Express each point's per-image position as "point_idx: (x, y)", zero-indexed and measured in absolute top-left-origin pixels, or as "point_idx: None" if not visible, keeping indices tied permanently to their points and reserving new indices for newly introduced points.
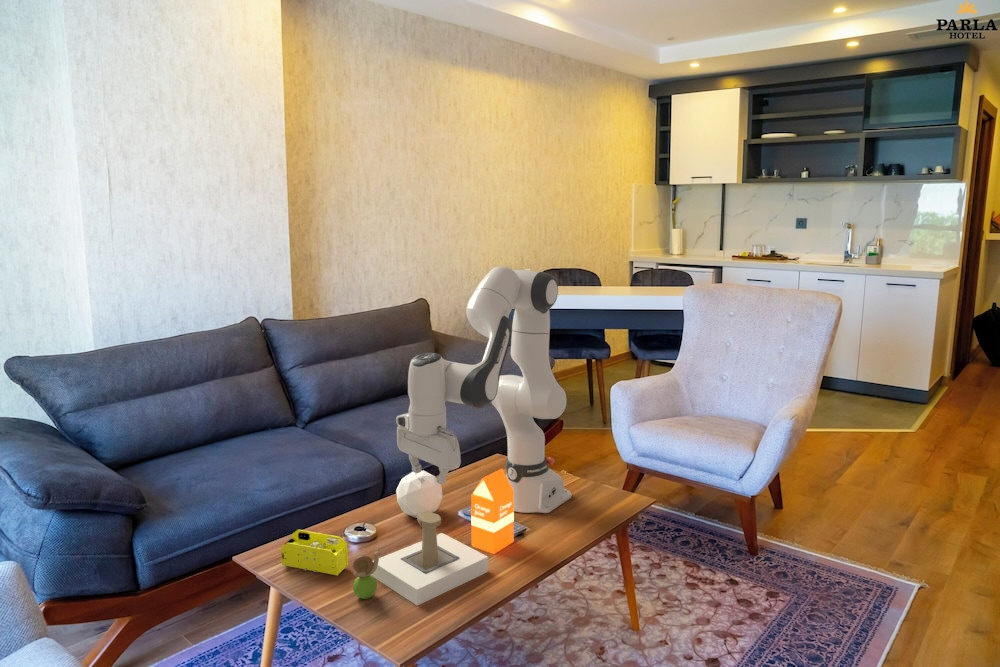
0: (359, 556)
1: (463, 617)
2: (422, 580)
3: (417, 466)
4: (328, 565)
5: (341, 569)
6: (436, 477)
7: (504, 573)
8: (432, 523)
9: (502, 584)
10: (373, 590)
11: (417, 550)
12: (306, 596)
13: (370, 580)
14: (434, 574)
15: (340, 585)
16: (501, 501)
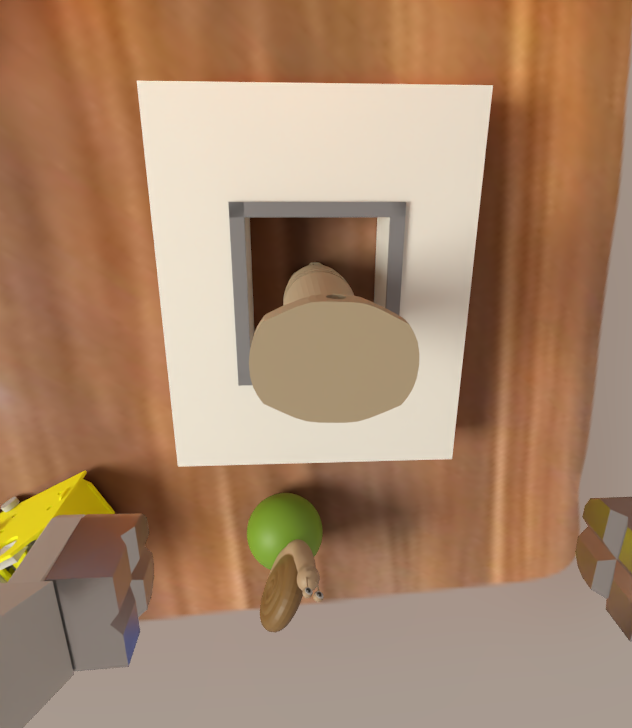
0: (274, 628)
1: (587, 370)
2: (422, 414)
3: (126, 639)
4: None
5: (99, 500)
6: (619, 623)
7: (527, 51)
8: (407, 392)
9: (572, 127)
10: (321, 523)
11: (218, 291)
12: (169, 610)
13: (310, 545)
14: (423, 359)
15: (174, 527)
16: None
